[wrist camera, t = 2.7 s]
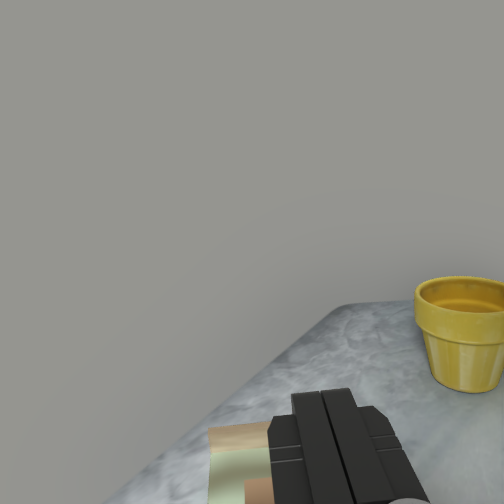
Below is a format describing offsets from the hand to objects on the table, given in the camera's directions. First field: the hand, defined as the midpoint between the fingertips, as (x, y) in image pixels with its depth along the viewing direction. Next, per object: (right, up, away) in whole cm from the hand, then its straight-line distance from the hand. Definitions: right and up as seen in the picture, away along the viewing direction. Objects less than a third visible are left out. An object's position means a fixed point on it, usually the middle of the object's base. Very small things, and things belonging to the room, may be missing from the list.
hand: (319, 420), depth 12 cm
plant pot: (+21, -9, +37) cm, 44 cm away
